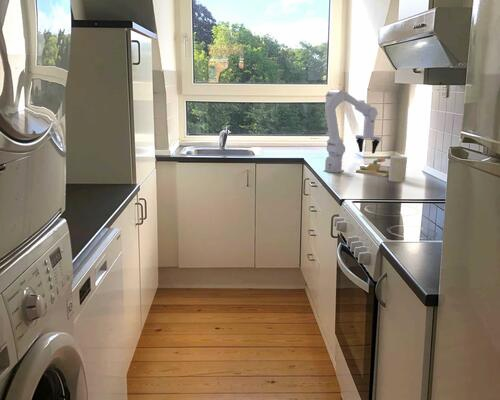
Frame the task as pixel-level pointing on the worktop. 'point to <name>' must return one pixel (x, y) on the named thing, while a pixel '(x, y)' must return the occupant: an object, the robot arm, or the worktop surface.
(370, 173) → the mount board
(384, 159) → the valve lever
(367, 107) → the robot arm
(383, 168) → the valve pipe
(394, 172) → the cup
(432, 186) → the worktop surface
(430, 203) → the worktop surface
